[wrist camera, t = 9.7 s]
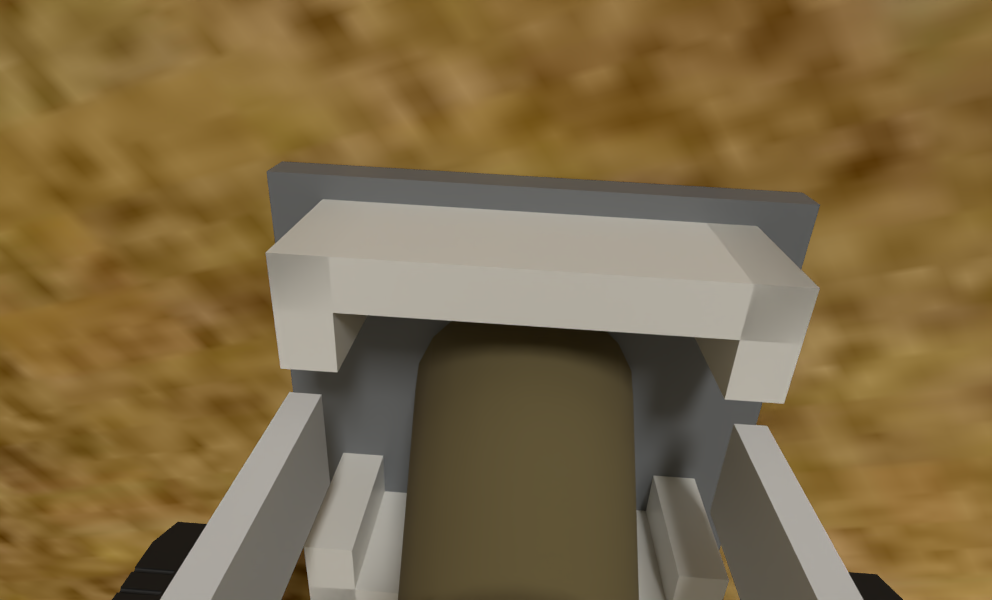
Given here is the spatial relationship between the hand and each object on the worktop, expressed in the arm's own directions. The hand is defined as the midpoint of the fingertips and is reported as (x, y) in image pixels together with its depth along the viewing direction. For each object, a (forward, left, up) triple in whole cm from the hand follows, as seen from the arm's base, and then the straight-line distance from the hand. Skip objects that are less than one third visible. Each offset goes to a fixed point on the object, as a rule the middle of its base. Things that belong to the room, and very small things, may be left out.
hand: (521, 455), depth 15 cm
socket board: (0, +6, -4) cm, 7 cm away
